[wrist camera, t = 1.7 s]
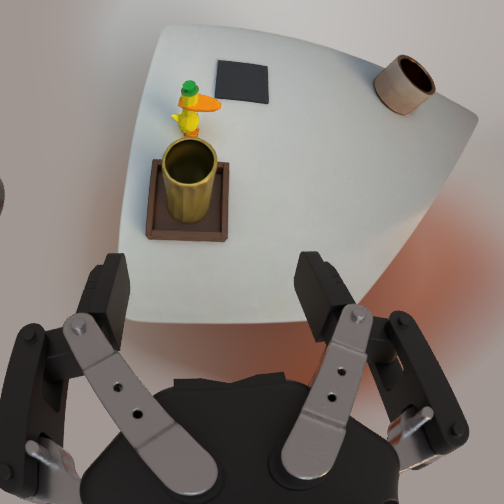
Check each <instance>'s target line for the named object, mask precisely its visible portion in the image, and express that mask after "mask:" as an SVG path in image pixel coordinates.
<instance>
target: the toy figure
mask: <svg viewBox="0 0 504 504" xmlns="http://www.w3.org/2000/svg"><path fill="white" fill-rule="evenodd" d="M198 91H199V88H198V86H197V85H196V84H195V82H194V81H191V80H190V81H186V82H185V83H184V84H183V88H182V89H181V93H182V97H180V100H179V103H178V106H180V107H182V108H183V111H182V113H181V114H177V115H171V117H173V118H174V119H175V120H176V121H177V122H178V125H179V129H180V130H181V132H183V133H185V134H184V136H186V137H197V136H198V134H196V133H197V132H199V128H197V127H198V125H199V117H198V113H196V112H214V111H216V110H218V109H221V103H220V102H219V101H218V100H216V99H214V98H212V97H209V96H205V95H201V94H199V93H198Z"/></svg>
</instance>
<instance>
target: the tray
mask: <svg viewBox="0 0 504 504" xmlns="http://www.w3.org/2000/svg"><path fill="white" fill-rule="evenodd" d="M228 192H229V163H226V162H217V169H216V173H215V176H214V181H213V187H212V193H211V199H210V207H209V210H208V212H207V214H206V215H205V216H204V217H203V218H202V219H201V220H199V221H197V222H194V223H181V222H179V221H177V220H175V219H174V218H173V217H172V216H171V215H170V214H169V212H168V210H167V206H166V199H167V193H166V187H165V183H164V178H163V173H162V159H159V160H158V159H153V161H152V169H151V178H150V187H149V197H148V208H147V221H146V237H147V238H148V239H149V240H183V241H215V242H225V241H226V239H227V238H228Z"/></svg>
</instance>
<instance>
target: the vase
mask: <svg viewBox="0 0 504 504" xmlns="http://www.w3.org/2000/svg"><path fill="white" fill-rule="evenodd" d="M216 169H217V155H216V152H215V150H214V149H213V147H212V146H211V145H210V144H209V143H207V142H206V141H204V140H202V139H200V138H197V137H184V138H181V139H178V140H176V141H174V142H173V143H172V144H170V145H169V147H168V148H167V150H166V151H165V153H164V155H163V158H162V173H163V178H164V183H165V187H166V193H167V199H166V206H167V210H168V212H169V214H170V215H171V216H172V217H173V218H174V219H175V220H177V221H179V222H181V223H194V222H197V221H199V220H201V219H202V218H203V217H204V216H205V215H206V214H207V212H208V210H209V207H210V199H211V193H212V187H213V181H214V176H215V173H216Z"/></svg>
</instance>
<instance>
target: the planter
mask: <svg viewBox="0 0 504 504" xmlns="http://www.w3.org/2000/svg"><path fill="white" fill-rule="evenodd" d="M374 85H375V89H376V92H377V94H378V95H379V97H380V98H381V100H382V101H383V102H384V103H385V104H386V105H387V106H388V107H389V108H390V109H392V110H393V111H395V112H397V113H399V114H409V113H410V112H412V111H413V110H414V109H416V108H417V107H418V106H420V105H421V104H422V103H423V102H425V101H426V100H427V99H429V98H430V97H431V96H433V95H434V94H435V85H434V82H433V80H432V78H431V76H430V75H429V73H428V72H427V71H426V70H425V69H424V67H423V66H421V64H419V63H418V62H417V61H416V60H414V59H413V58H411V57H409V56H406V55H399V56H398V57H397V58H396V59H395V60H394V61H393V62H392V63H391V64H389V66H388V67H386V68H385V69H384V70H383V71H382V72H381V73H380V74H379V75H378V76H377V77H376V79H375V82H374Z"/></svg>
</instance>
